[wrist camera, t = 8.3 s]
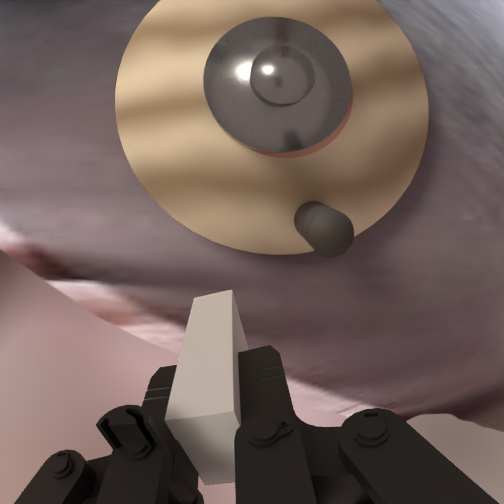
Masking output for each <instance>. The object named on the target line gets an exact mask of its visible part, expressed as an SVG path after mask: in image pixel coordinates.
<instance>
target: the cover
mask: <svg viewBox="0 0 504 504" xmlns="http://www.w3.org/2000/svg"><path fill="white" fill-rule="evenodd" d="M203 87H204V93H205V97H206V100H207V104H208V106H209V109H210V111H211V113H212V115H213V117H214V119H215V121H216V122H217V124H218V125H219V127H220V128H221V129H222V130H223V131H224V132H225V133H226V134H227V135H228V136H229V137H230V138H232V139H233V140H235V141H236V142H237V143H239V144H241V145H243V146H245V147H247V148H250V149H253V150H256V151H260V152H266V153H285V152H291V151H297V150H301V149H305V148H308V147H310V146H313V145H315V144H317V143H319V142H321V141H322V140H324V139H325V138H327V137H328V136H329V135H330V134H331V133H332V132H333V131H334V130H335V129H336V128H337V127H338V126H339V124H340V123H341V122H342V120H343V118H344V117H345V115H346V113H347V110H348V107H349V104H350V99H351V89H352V88H351V78H350V73H349V69H348V67H347V64H346V61H345V59H344V57H343V56H342V54H341V52H340V51H339V49H338V48H337V47H336V46H335V44H334V43H333V42H332V41H331V40H330V39H329V38H328V37H327V36H326V35H324V34H323V33H322V32H320V31H319V30H317V29H316V28H314V27H312V26H310V25H308V24H306V23H304V22H301V21H298V20H295V19H291V18H285V17H261V18H256V19H252V20H249V21H246V22H243V23H241V24H239V25H237V26H235V27H234V28H232V29H231V30H229V31H228V32H227V33H225V34H224V35H223V36H222V37H221V38H220V39H219V40H218V41H217V43H216V44H215V45H214V47H213V48H212V50H211V51H210V54H209V56H208V58H207V61H206V64H205V67H204V74H203Z"/></svg>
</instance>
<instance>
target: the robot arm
mask: <svg viewBox="0 0 504 504" xmlns="http://www.w3.org/2000/svg"><path fill="white" fill-rule="evenodd" d="M147 390H148V391H147V392H146V395H145V398H144V399H145V400H144V401H143V405H142V407H140V406H138V405H125V406H120V407H117V408H115V409H113V410H111V411H109V412H108V413H106V414H105V415H104V416H103V417H102V418H100V420H99V421H98V423H97V424H96V426H97V428H98V429H99V431H100V432H101V433H102V435H103V436H104V438H105V439H106V440H107V442H108V443H109V444H110V446H111V447H112V448H113V451H112V454H111V455H108V456H105V457H101V458H97V459H93V460H89V461H86V460H85V459H84V458H83V456H82V455H81V454H80V453H78V452H76V451H74V450H63V451H59V452H57V453H55V454H53V455H52V456H51V457H50V458H48V459H47V461H45V463H44V464H43V466H42V467H41V468H40V470H39V471H38V472H37V474H36V475H35V476H34V477H33V479H32V480H31V481H30V483H29V484H28V485H27V487H26V488H25V489H24V491H23V492H22V493H21V495H20V497H19V498H18V499H17V500H16V502H15V503H14V504H204V500H203V496H202V494H201V493H200V492H199V490H198V475H199V477H200V478H201V480H202V481H203V483H204V484H205V485H213V484H223V483H232V482H235V485H236V486H235V488H236V504H499V503H498V502H497V501H496V500H494V499H493V498H492V497H491V496H490V495H488V494H487V493H486V492H485V491H484V490H483V489H482V488H480V487H479V486H478V485H477V484H476V483H474V482H473V481H472V480H471V479H470V478H469V477H468V476H466V475H465V474H464V473H463V472H462V471H461V470H459V468H457V467H456V466H455V465H454V464H453V463H452V462H451V461H449V460H448V459H447V458H446V457H445V456H444V455H443V454H441V453H440V452H439V451H438V450H437V449H436V448H435V447H434V446H432V445H431V444H430V443H429V442H428V441H427V440H426V439H425V438H423V437H422V436H421V435H420V434H419V433H418V432H417V431H416V430H414V429H413V428H412V427H411V426H410V425H409V424H407V422H406V421H405V420H403V419H402V418H401V417H400V416H399V415H397V414H395V413H394V412H392V411H390V410H386V409H381V408H374V409H365V410H362V411H360V412H357V413H354V414H353V415H352V416H350V417H349V418H347V419H346V420H345V421H344V423H343V424H342V426H341V427H316V426H313V425H309V424H307V423H305V422H303V421H301V420H300V419H299V418H298V417H297V416H296V414H295V412H294V410H293V405H292V401H291V397H290V393H289V389H288V385H287V381H286V377H285V373H284V369H283V365H282V361H281V357H280V353H279V352H278V351H277V350H275V349H274V348H273V347H272V346H271V345H269V346H264V347H260V348H256V349H251V350H248V346H247V342H246V338H245V335H244V331H243V328H242V324H241V321H240V317H239V313H238V310H237V306H236V303H235V299H234V295H233V292H232V290H228V291H223V292H219V293H214V294H210V295H205V296H201V297H196V298H194V301H193V305H192V308H191V312H190V316H189V320H188V324H187V328H186V332H185V336H184V340H183V344H182V348H181V352H180V356H179V360H178V364H177V365H173V366H167V367H160V368H159V370H158V371H157V372H156V373H155V374H154V375H153V376H152V378H151V379H150V383H149V385H148V389H147Z"/></svg>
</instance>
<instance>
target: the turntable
mask: <svg viewBox="0 0 504 504" xmlns="http://www.w3.org/2000/svg"><path fill="white" fill-rule="evenodd" d="M261 17H285V18H291V19H295V20H298V21H301V22H304V23H306V24H308V25H310V26H312V27H314V28H316V29H317V30H319V31H320V32H322V33H323V34H324V35H326V36H327V37H328V38H329V39H330V40H331V41H332V42H333V43H334V44H335V46H336V47H337V48H338V49H339V51H340V52H341V54H342V56H343V57H344V59H345V61H346V64H347V67H348V69H349V73H350V78H351V88H352V89H351V99H350V104H349V107H348V110H347V113H346V115H345V117H344V118H343V120H342V122H341V123H340V124H339V126H338V127H337V128H336V129H335V130H334V131H333V132H332V133H331V134H330V135H329V136H328V137H327V138H325V139H324V140H322V141H321V142H319V143H317V144H315V145H313V146H310V147H308V148H305V149H301V150H297V151H291V152H285V153H266V152H260V151H256V150H253V149H250V148H247V147H245V146H243V145H241V144H239V143H237V142H236V141H235V140H233V139H232V138H230V137H229V136H228V135H227V134H226V133H225V132H224V131H223V130H222V129H221V128H220V127H219V125H218V124H217V122H216V121H215V119H214V117H213V115H212V113H211V111H210V109H209V106H208V104H207V100H206V97H205V93H204V87H203V74H204V67H205V64H206V61H207V58H208V56H209V54H210V51H211V50H212V48H213V47H214V45H215V44H216V43H217V41H218V40H219V39H220V38H221V37H222V36H223V35H224V34H225V33H227V32H228V31H229V30H231V29H232V28H234V27H235V26H237V25H239V24H241V23H243V22H246V21H249V20H252V19H256V18H261ZM115 113H116V120H117V127H118V133H119V136H120V140H121V143H122V146H123V150H124V152H125V154H126V157H127V159H128V161H129V163H130V165H131V168H132V170H133V171H134V173H135V175H136V176H137V178H138V179H139V181H140V182H141V184H142V185H143V187H144V188H145V190H146V191H147V192H148V193H149V194H150V195H151V197H152V198H153V199H154V200H155V201H156V202H157V204H158V205H159V206H161V207H162V208H163V209H164V210H165V211H166V212H167V213H168V214H170V215H171V216H172V217H173V218H174V219H175V220H177V221H178V222H180V223H181V224H183V225H184V226H186V227H187V228H189V229H190V230H192V231H193V232H195V233H197V234H199V235H201V236H203V237H205V238H207V239H209V240H211V241H213V242H216V243H219V244H222V245H225V246H228V247H230V248H233V249H238V250H243V251H247V252H252V253H260V254H272V255H284V254H300V253H305V252H311V251H316V252H317V253H319V254H320V255H322V256H325V257H336V256H339V255H341V254H343V253H344V252H345V251H346V250H347V249H348V248H349V247H350V245H351V244H352V241H353V238H354V236H356V235H358V234H359V233H361V232H362V231H364V230H366V229H367V228H369V227H370V226H372V225H373V224H374V223H376V222H377V221H378V220H379V219H380V218H381V217H383V216H384V215H385V214H386V213H387V212H388V211H389V210H390V209H391V208H392V207H393V206H394V205H395V203H396V202H397V201H398V200H399V199H400V198H401V196H402V195H403V193H404V192H405V190H406V189H407V187H408V186H409V184H410V183H411V181H412V179H413V177H414V175H415V173H416V171H417V169H418V167H419V164H420V161H421V158H422V155H423V152H424V149H425V144H426V139H427V133H428V122H429V106H428V94H427V89H426V84H425V79H424V76H423V72H422V69H421V67H420V64H419V61H418V58H417V56H416V54H415V52H414V50H413V48H412V46H411V44H410V42H409V41H408V39H407V37H406V36H405V34H404V33H403V31H402V30H401V28H400V27H399V25H398V24H397V23H396V22H395V21H394V19H393V18H392V17H391V16H390V15H389V13H388V12H387V11H386V10H385V9H384V8H382V7H381V6H380V5H379V4H378V3H377V2H376V1H375V0H160V1H159V2H158V3H157V4H156V5H155V6H154V7H153V8H152V10H151V11H150V12H149V13H148V14H147V15H146V16H145V17H144V19H143V20H142V22H141V23H140V25H139V26H138V27H137V29H136V30H135V32H134V33H133V35H132V37H131V39H130V41H129V43H128V46H127V48H126V50H125V52H124V55H123V58H122V61H121V64H120V68H119V71H118V77H117V83H116V90H115Z"/></svg>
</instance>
